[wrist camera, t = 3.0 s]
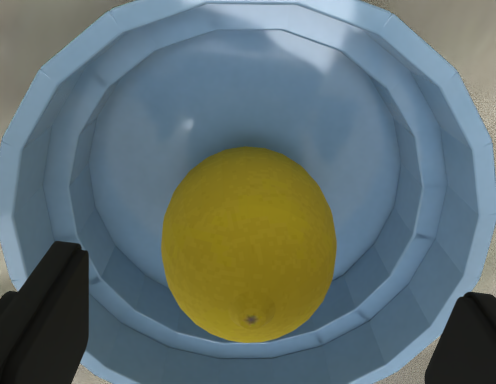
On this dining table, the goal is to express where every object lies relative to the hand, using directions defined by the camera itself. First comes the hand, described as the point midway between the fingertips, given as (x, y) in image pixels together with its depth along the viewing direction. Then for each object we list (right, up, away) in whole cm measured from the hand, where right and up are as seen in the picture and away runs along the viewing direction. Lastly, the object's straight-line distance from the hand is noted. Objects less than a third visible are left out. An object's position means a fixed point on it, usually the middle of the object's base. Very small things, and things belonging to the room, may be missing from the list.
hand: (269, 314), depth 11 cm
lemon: (-1, +3, +7) cm, 8 cm away
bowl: (-1, +3, +7) cm, 8 cm away
